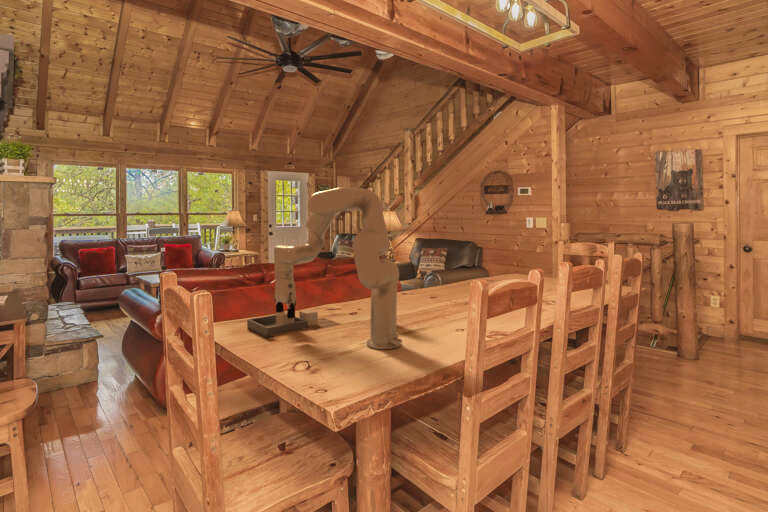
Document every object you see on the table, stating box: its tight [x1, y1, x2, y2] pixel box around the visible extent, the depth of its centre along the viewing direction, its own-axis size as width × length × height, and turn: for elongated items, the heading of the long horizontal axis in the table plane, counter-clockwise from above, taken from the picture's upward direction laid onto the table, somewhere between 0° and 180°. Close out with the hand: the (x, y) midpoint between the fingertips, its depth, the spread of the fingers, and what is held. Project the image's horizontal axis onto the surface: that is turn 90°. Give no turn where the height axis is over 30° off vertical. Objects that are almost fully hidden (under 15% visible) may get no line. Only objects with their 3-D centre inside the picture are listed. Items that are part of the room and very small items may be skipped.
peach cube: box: [275, 310, 294, 326], centre depth 187 cm, size 6×6×6 cm
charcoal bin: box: [246, 314, 309, 339], centre depth 185 cm, size 18×18×4 cm
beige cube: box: [299, 309, 319, 326], centre depth 190 cm, size 6×6×6 cm
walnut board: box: [307, 317, 342, 331], centre depth 192 cm, size 14×14×1 cm
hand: (285, 315), depth 187 cm, fingers open, 9 cm apart
